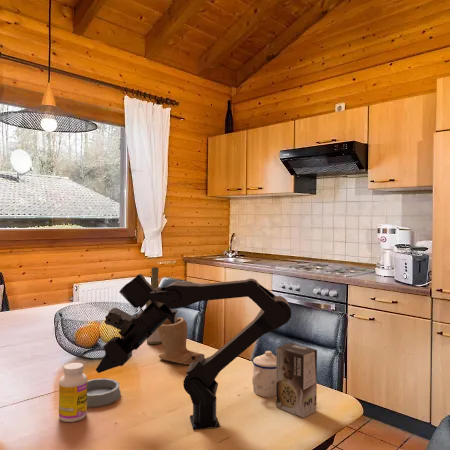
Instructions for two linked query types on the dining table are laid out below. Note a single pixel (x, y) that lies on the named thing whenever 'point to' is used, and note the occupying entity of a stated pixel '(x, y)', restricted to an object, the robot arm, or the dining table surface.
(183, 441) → the dining table surface
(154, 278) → the bottle
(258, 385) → the teacup with lid
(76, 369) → the supplement bottle
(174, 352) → the tan boot-shaped piece
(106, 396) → the round bowl
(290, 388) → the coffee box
